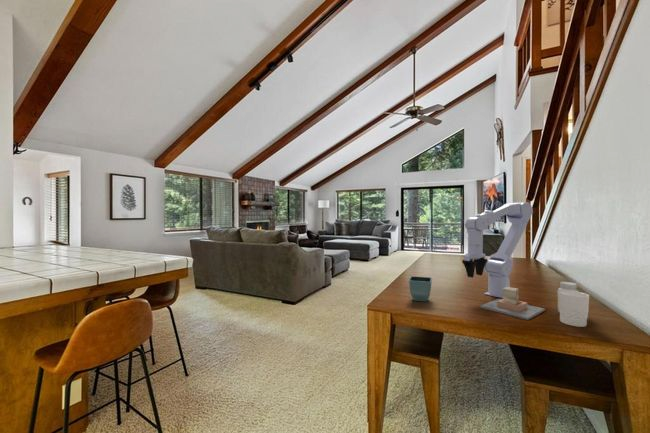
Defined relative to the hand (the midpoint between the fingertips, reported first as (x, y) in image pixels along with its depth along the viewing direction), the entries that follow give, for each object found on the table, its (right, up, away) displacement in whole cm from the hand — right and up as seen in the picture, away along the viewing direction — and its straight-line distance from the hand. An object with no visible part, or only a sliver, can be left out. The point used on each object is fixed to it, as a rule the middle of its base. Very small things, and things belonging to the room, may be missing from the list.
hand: (474, 276), depth 126 cm
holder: (+6, -10, -15) cm, 19 cm away
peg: (+6, -9, -15) cm, 18 cm away
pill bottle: (+24, -10, -19) cm, 33 cm away
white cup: (+18, -10, -29) cm, 36 cm away
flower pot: (-25, -10, -3) cm, 27 cm away
